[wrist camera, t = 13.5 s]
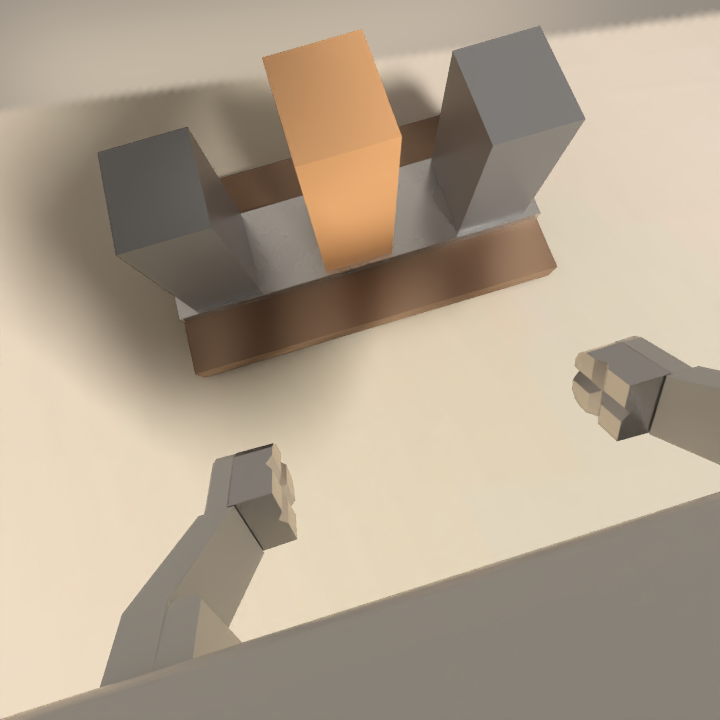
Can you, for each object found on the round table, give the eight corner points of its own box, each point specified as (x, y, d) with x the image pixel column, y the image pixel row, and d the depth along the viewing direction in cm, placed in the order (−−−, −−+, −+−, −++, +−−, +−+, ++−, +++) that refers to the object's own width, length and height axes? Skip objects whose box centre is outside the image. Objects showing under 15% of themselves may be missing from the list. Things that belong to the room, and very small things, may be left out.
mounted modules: (195, 310, 23) (115, 255, 16) (178, 235, 24) (97, 152, 17) (523, 214, 23) (585, 118, 16) (492, 143, 24) (539, 25, 17)
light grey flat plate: (184, 322, 23) (179, 319, 23) (167, 241, 24) (162, 236, 24) (536, 218, 23) (540, 213, 23) (503, 143, 25) (507, 136, 24)
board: (204, 377, 24) (195, 374, 22) (167, 207, 26) (157, 196, 25) (548, 275, 24) (557, 266, 23) (481, 116, 26) (486, 101, 25)
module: (326, 272, 23) (294, 167, 14) (304, 198, 24) (261, 57, 15) (392, 252, 23) (401, 136, 14) (367, 180, 24) (362, 29, 15)
